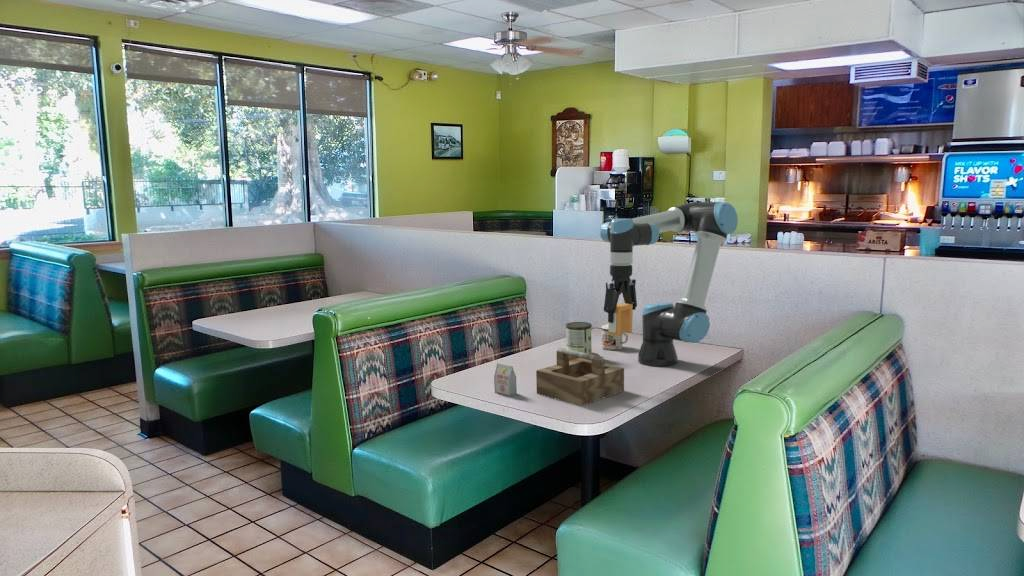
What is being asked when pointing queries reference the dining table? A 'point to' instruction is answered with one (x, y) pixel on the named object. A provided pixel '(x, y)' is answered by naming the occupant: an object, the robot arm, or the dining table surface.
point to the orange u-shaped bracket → (623, 319)
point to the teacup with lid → (612, 339)
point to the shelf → (579, 378)
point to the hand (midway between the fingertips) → (620, 329)
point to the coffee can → (578, 336)
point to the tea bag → (505, 380)
